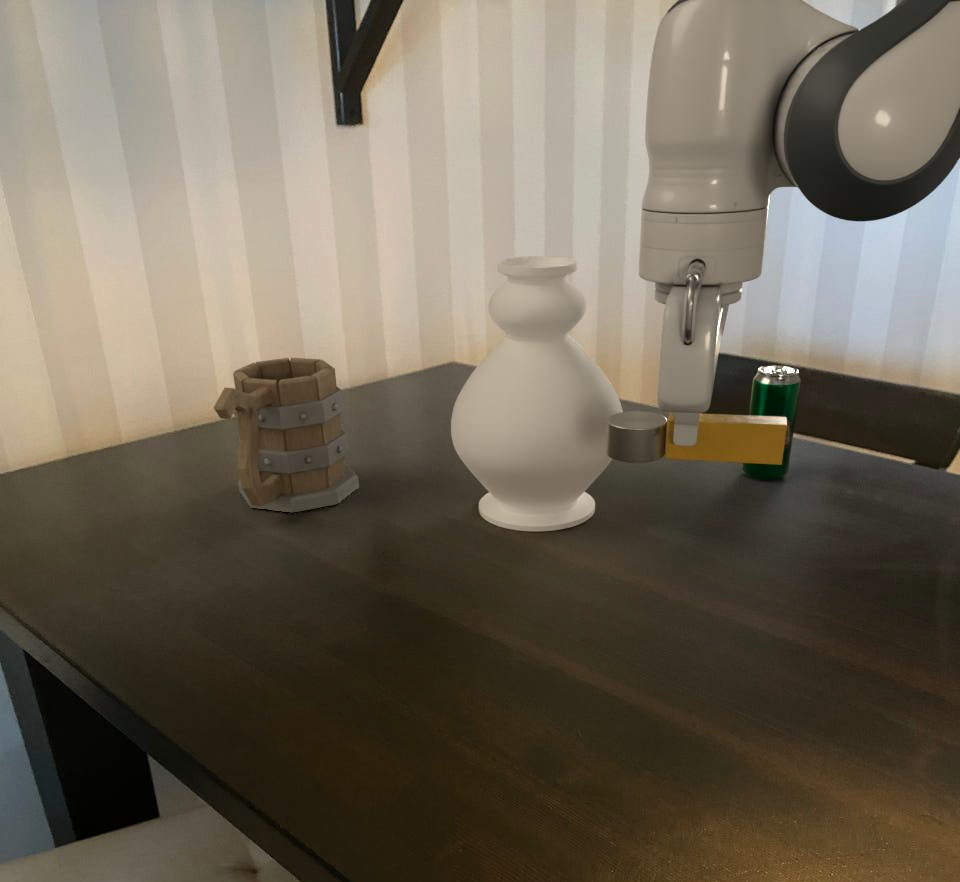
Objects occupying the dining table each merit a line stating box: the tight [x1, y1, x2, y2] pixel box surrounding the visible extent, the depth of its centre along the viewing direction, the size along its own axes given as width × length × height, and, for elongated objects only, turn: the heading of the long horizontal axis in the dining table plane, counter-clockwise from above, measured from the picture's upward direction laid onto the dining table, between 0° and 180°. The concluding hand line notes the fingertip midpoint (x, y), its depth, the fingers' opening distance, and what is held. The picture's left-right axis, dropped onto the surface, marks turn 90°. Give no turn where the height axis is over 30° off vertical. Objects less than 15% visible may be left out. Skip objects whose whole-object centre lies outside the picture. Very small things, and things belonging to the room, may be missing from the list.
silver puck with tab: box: [606, 410, 787, 465], centre depth 74 cm, size 14×5×3 cm, turn 75°
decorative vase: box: [450, 255, 624, 533], centre depth 94 cm, size 18×18×25 cm
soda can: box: [742, 364, 802, 482], centre depth 105 cm, size 5×5×12 cm
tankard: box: [213, 357, 360, 513], centre depth 100 cm, size 20×13×15 cm, turn 161°
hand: (686, 436), depth 75 cm, fingers closed on silver puck with tab, 2 cm apart
